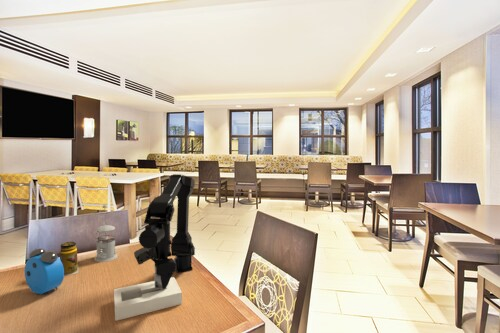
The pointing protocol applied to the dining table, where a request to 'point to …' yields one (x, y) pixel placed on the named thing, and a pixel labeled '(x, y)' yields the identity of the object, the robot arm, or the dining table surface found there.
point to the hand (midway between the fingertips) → (161, 282)
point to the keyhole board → (145, 299)
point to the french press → (105, 244)
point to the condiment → (69, 258)
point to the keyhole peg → (158, 281)
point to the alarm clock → (43, 271)
